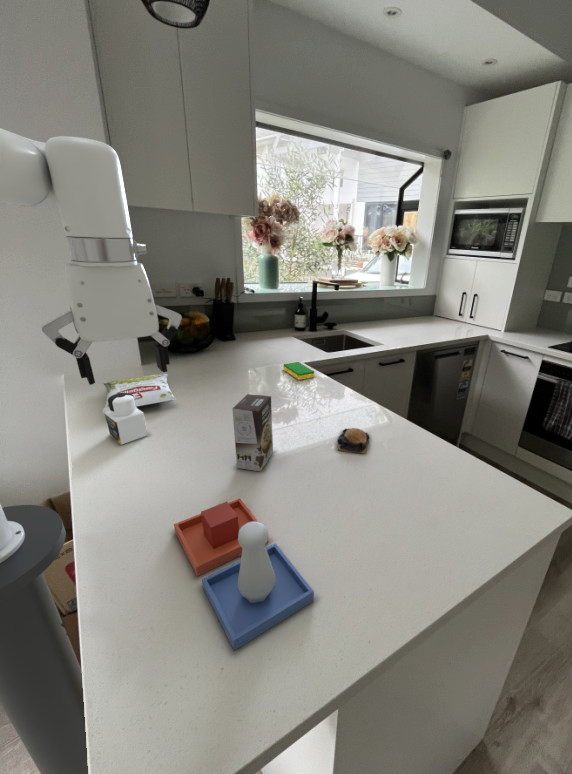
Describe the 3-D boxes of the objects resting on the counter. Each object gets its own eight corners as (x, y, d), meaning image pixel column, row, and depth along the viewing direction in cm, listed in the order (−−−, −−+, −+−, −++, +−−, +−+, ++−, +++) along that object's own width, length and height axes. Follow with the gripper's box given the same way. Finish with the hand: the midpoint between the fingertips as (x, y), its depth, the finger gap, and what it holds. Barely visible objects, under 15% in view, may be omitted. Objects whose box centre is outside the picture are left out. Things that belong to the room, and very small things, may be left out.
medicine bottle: (109, 435, 102) (99, 395, 97) (136, 426, 107) (128, 388, 102) (121, 445, 98) (111, 403, 93) (148, 435, 103) (140, 395, 98)
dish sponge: (298, 366, 159) (298, 361, 158) (314, 377, 149) (314, 371, 148) (283, 369, 156) (282, 363, 155) (298, 380, 145) (298, 374, 144)
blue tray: (234, 650, 52) (233, 641, 51) (203, 588, 60) (201, 579, 60) (313, 600, 59) (313, 591, 58) (275, 551, 68) (275, 542, 67)
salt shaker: (283, 586, 61) (281, 523, 55) (260, 614, 56) (256, 549, 51) (254, 571, 63) (249, 510, 58) (230, 597, 58) (223, 533, 53)
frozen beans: (166, 365, 136) (176, 390, 117) (169, 380, 139) (179, 407, 119) (100, 375, 127) (99, 403, 107) (105, 391, 130) (104, 421, 110)
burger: (341, 431, 110) (342, 420, 108) (370, 435, 108) (371, 424, 107) (334, 450, 100) (335, 438, 98) (366, 454, 99) (367, 442, 97)
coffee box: (261, 472, 90) (258, 411, 83) (236, 468, 91) (230, 408, 84) (274, 452, 98) (272, 395, 91) (250, 449, 99) (247, 392, 92)
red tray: (197, 576, 62) (195, 567, 62) (175, 532, 71) (173, 524, 70) (268, 542, 70) (267, 533, 69) (240, 506, 79) (239, 498, 78)
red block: (213, 549, 67) (210, 527, 65) (203, 532, 71) (200, 511, 69) (239, 537, 70) (237, 516, 68) (229, 521, 74) (226, 501, 71)
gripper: (164, 251, 57) (180, 359, 64) (19, 250, 47) (56, 378, 54) (180, 254, 51) (195, 372, 59) (19, 255, 42) (60, 396, 49)
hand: (128, 375), depth 56 cm, fingers open, 9 cm apart
